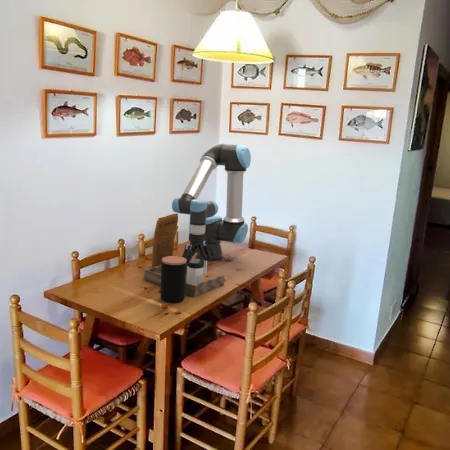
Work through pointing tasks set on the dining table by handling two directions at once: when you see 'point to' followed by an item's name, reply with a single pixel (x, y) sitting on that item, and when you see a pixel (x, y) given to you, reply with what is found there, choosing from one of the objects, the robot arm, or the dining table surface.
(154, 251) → the pancake mix bag
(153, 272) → the lane organizer
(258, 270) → the dining table surface
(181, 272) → the coffee jar
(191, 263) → the jar
